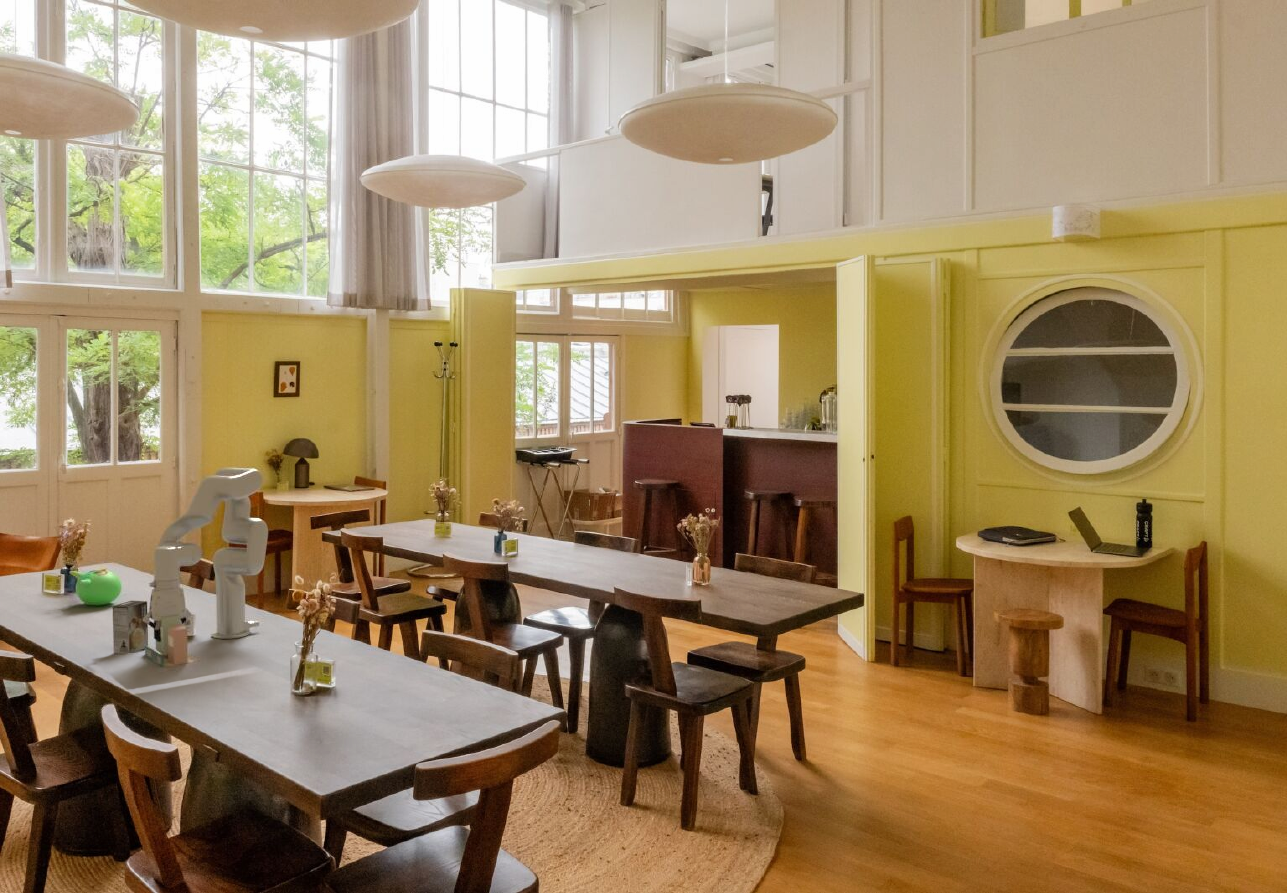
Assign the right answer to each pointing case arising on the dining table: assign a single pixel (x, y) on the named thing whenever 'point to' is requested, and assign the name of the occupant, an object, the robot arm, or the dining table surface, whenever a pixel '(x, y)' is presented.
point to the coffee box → (130, 627)
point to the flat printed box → (163, 657)
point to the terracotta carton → (177, 645)
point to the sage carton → (166, 632)
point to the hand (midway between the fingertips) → (167, 639)
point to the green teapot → (97, 586)
